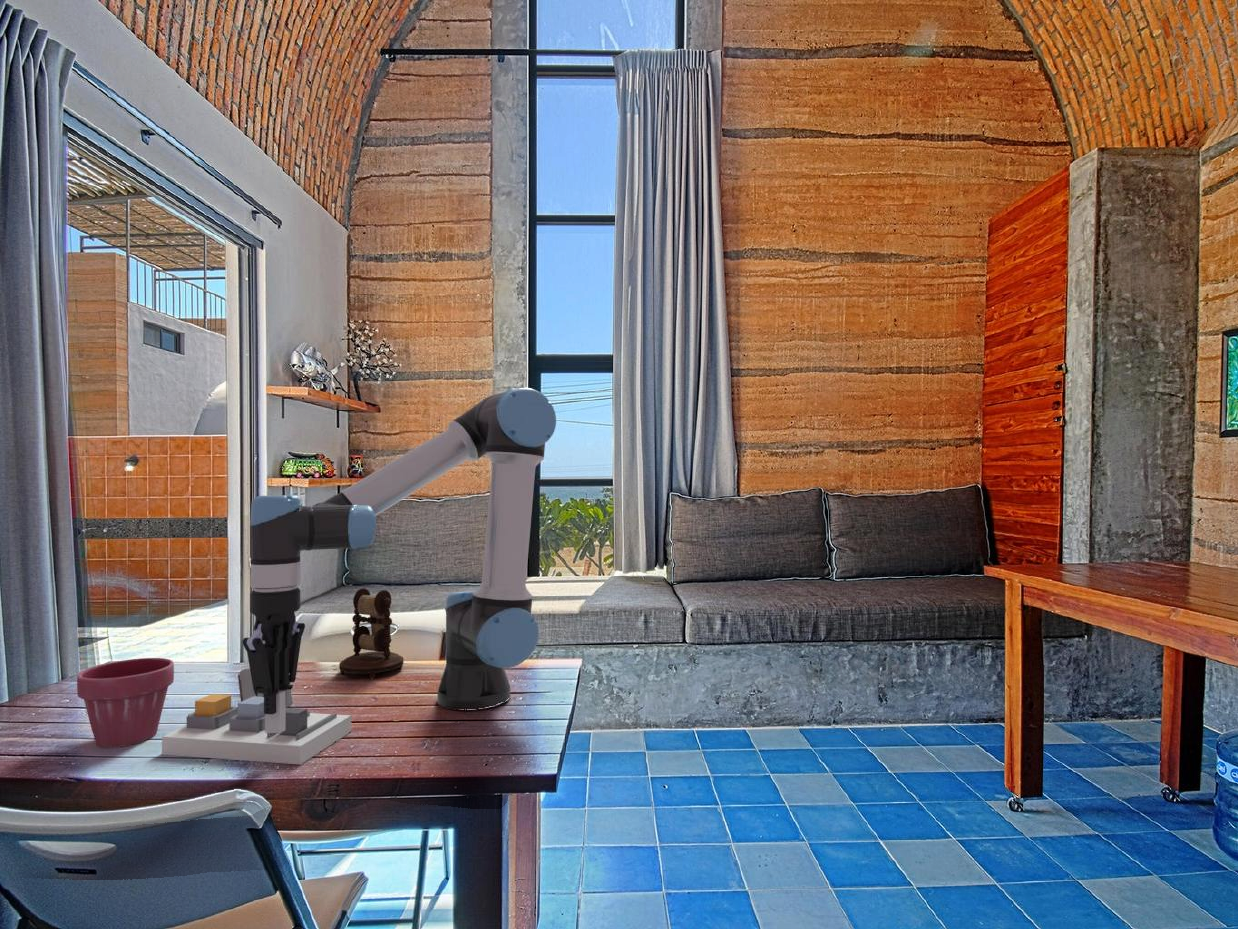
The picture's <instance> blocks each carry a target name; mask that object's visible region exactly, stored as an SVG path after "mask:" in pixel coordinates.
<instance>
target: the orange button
mask: <svg viewBox="0 0 1238 929" xmlns="http://www.w3.org/2000/svg"><path fill="white" fill-rule="evenodd" d="M231 706H232V695H231V694H219V693H218V694H216V693H212V694H209V695H207V696H204V697H201V698H199V699H197V700H194V712H195V715H200V716H217V715H219V714H222V713H224V712H226V711H228V710H230V709H231Z"/></svg>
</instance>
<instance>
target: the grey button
mask: <svg viewBox="0 0 1238 929" xmlns="http://www.w3.org/2000/svg"><path fill="white" fill-rule="evenodd" d="M237 707H238V718H249V719H260V718H262V717H264V716H265V713H264V697H255V696H253V697H251V698H249V699H246V700H244V701H242V702H241V701H240V702H237Z"/></svg>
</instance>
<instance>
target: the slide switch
mask: <svg viewBox="0 0 1238 929" xmlns="http://www.w3.org/2000/svg"><path fill="white" fill-rule="evenodd" d="M307 712H308V708H302V707H300V708H299V707H286V719H285V731H283V732H281V733H280V734H295V735H296V734H298V733H300V732H301V731H303V730H305V729H307Z"/></svg>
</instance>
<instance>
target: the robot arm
mask: <svg viewBox="0 0 1238 929" xmlns="http://www.w3.org/2000/svg"><path fill="white" fill-rule="evenodd" d="M556 426H557V415H556V411H555V409H554V406H553V404H552V402H550V400H549V399H548V398H547V396H546V395H544V394H543V393H542V392H540V391H538V390H536V389H533V388H530V387H520V388H519V387H514V388H511V389H508V390H506V391H504V392H500V393H496V394H492V395H489V396H487V397H486V398H484V399H482V400H481V401H479V402H478V403H477V404H475V405H474V406H473V407H471V408H470V409H468V410H467V411H465V412H464V413H463V414H461V415H460V416H458V417H456V418H455V419H453V420H451V421H450V422H449V423H448V428H447V429H446V430H444V431H442V432H441V433H439V434H437V435H436V436H433V437H432V438H430V439H429V440H427V441H425V442H423V443H422V444H420V445H418V446H417V447H415V448H413V449H411V450H409V451H408V452H406V453H405V454H403V455H401V456H399V457H397V458H396V459H394V460H393V461H391V462H389V463H388V464H385V465H384V466H383V467H381V468H379V469H377V470H376V471H374V472H372V473H370V474H369V475H367V476H366V477H364V478H362V479H360V480H358V481H357V482H355V483H353V484H351V485H350V486H348V487H346V488H345V489H343V490H341V491H340V492H338V493H337V494H335V495H333V496H331V497H329V498H328V499H326V500H325V501H322V502H318V503H315V504H314V505H312V506H306V505H303V504H302V503H301V502H302V500H301V498H300V496H299V495H295V494H294V495H293V494H291V495H289V494H286V495H278V494H277V495H274V494H273V495H272V494H271V495H258V496H256V497H254V498H253V500H251V504H250V505H251V506H250V507H251V508H250V520H249V555H250V557H249V558H250V583H249V584H250V588H252V589H253V590H252V591H251V592H250V593H249V611H250V613H251V614H252V615H254V616H255V622H254V625H253V633H252V634H251V636H250V637H244V638H242V645H243V648H244V649H245V651H246V654H247V660H248V666H249V668H250V672H251V678H252V684H253V689H254V692H255V693H260V694H263V695H264V713H265V733H281V732H283V731H285V719H286V708H287V707H286V689H287V690H291V691H292V690H293V688H294V684H291V683H295V681H296V679H297V672H298V665H299V657H300V651H301V643H302V637H303V633H304V631H305V629H306V624H305V623H304V622H298V621H297V617H296V614H295V612H298V611H299V610H300V608H301V589H300V588H299V587H298V586H299V585H300V584H302V582H301V581H302V579H301V578H302V574H301V573H302V572H301V566H302V565H301V552H302V551H307V552H308V551H313V550H314V551H317V550H320V551H321V550H341V549H351V550H355V549H358V548H359V549H360V548H368V547H370V546H372V545H373V543H374V541H375V539H376V532H377V531H376V530H377V524H376V522H377V521H376V516H378V515H380V514H381V513H383V512H385V511H387V510H388V509H390V508H392V506H394V505H396V504H397V503H399V502H401V501H402V500H405V499H406V498H407V497H409V496H411V495H413V494H414V493H416V492H417V491H419V490H421V489H422V488H424V487H426V486H427V485H428V484H430V483H432V482H434V481H435V480H437V479H438V478H440V477H442V476H444V475H445V474H447V473H448V472H449V471H451V470H454V469H455V468H456V467H458V466H460V465H461V464H463V463H464V462H466V461H472V462H475V461H477V460H479V459H480V458H482V457H483V456H486V457H487V458H488V459H489V461H490V462H491V471H490V472H491V473H490V475H491V477H490V482H489V483H490V484H489V497H488V506H487V520H486V521H487V522H486V531H485V532H486V533H485V543H484V555H483V566H482V576H481V577H482V578H481V585H480V586H478V588H476V589H475V590H465V591H464V590H463V591H457V592H456V591H455V592H451V593H449V594H448V595H447V597H446V606H445V609H444V611H445V615H446V616H445V649H446V650H445V655H446V656H445V667H444V670H443V674H442V676H441V680H440V683H439V686H438V688H437V700H436V701H437V702H436V703H437V704H438V706H440V705H441V706H442V708H444V707H445V708H444V709H447V708H448V709H447V710H451V709H456V710H455V711H460V710H459V709H464V710H465V709H466V710H467V709H479V708H485V707H489V706H493V705H496V704H498V703H501V702H505V701H506V700H507V699H508V698H509V697H510V698H511V684H510V682H509V678H508V675H507V673H506V669H511V668H515V667H516V666H519V665H521V664H523V663H524V662H525V661H526V660H527V659H528V658H529V657H531V655H532V654H533V652H534V651H535V649H536V647H537V645H538V642H539V636H540V629H539V625H538V622H537V620H536V619H535V617H534V615H533V614H532V606H533V605H532V604H533V595H532V594H531V593H530V591H529V590H528V589H527V586H526V584H527V574H528V573H527V570H528V559H529V549H530V538H531V536H530V535H531V526H532V524H531V522H532V513H533V503H534V502H533V500H534V489H535V488H534V487H535V477H536V476H535V475H536V467H537V466H538V465H539V464H540V463H541V462H543V460H544V459H545V448H546V442H548V441H549V440H551V439H550V438H552V436H553V435H554V432H555V429H556ZM289 684H290V685H289ZM441 706H440V707H441Z"/></svg>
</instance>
